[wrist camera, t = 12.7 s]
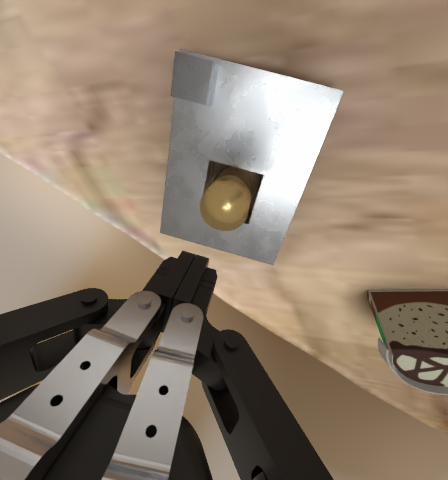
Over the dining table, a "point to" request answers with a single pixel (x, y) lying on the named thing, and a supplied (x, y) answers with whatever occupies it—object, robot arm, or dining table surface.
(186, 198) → the plate
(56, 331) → the robot arm
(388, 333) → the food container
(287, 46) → the dining table surface
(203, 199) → the gold peg
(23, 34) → the dining table surface
